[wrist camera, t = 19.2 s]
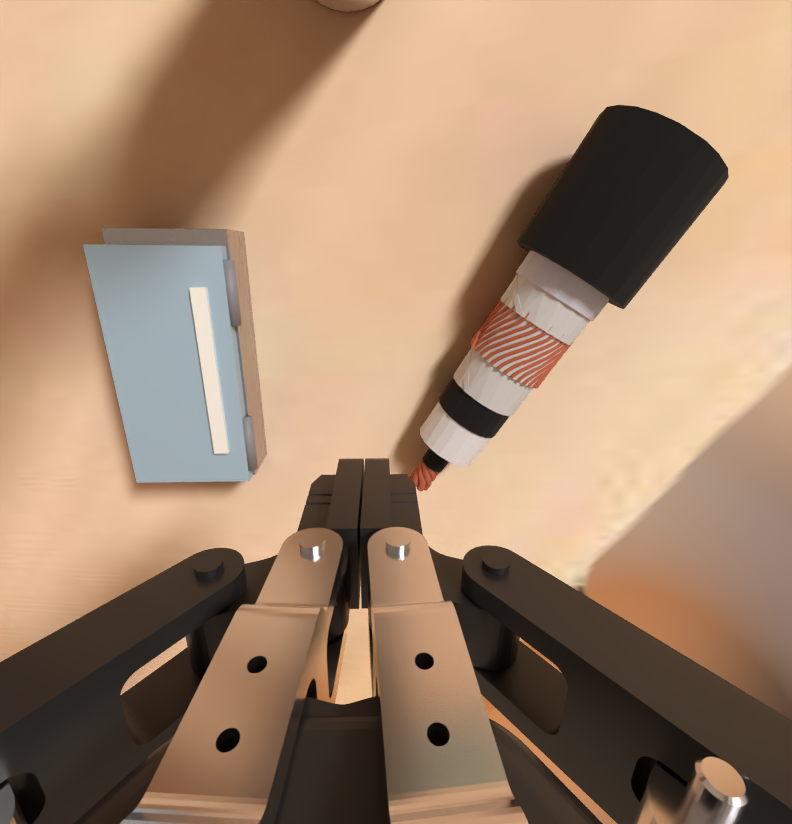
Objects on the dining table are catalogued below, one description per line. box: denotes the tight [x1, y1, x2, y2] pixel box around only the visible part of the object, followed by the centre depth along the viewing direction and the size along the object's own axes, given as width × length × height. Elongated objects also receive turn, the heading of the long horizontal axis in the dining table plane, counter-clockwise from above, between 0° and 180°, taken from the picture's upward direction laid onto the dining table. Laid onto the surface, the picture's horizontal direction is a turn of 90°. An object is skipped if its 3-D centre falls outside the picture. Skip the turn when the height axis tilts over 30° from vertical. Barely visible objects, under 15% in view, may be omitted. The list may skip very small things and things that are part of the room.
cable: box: [410, 105, 728, 491], centre depth 37 cm, size 10×34×10 cm, turn 150°
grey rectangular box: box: [101, 228, 267, 475], centre depth 38 cm, size 21×9×4 cm, turn 179°
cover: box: [83, 244, 258, 483], centre depth 36 cm, size 20×11×2 cm, turn 179°
